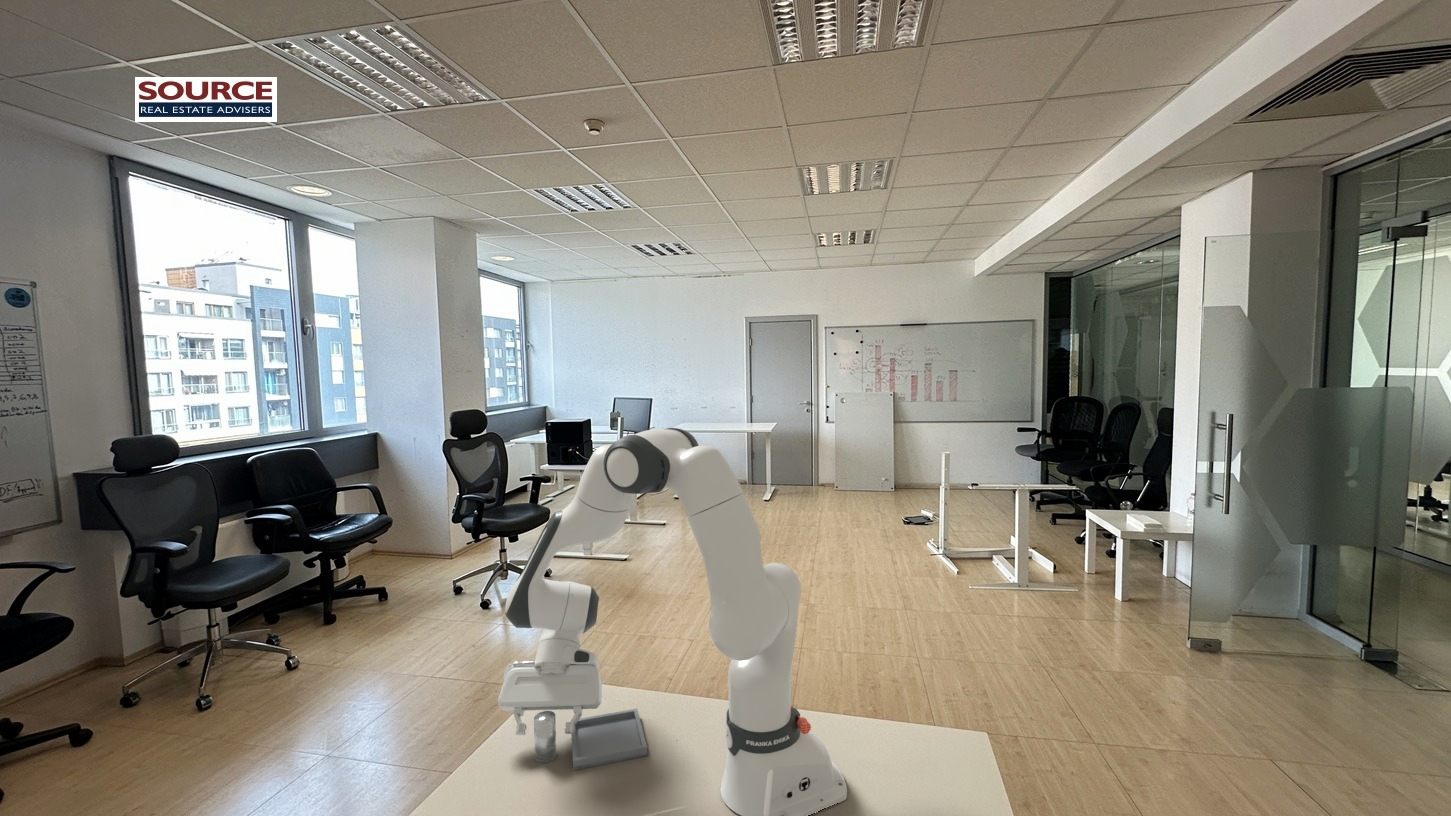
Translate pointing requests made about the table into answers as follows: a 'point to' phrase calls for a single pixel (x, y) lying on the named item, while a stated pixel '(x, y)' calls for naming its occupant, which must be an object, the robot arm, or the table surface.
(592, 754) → the parts tray
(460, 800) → the table surface
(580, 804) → the table surface
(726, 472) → the robot arm
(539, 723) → the glossy grey cylinder
